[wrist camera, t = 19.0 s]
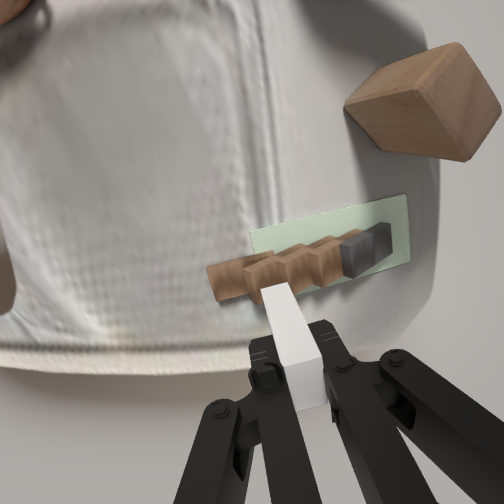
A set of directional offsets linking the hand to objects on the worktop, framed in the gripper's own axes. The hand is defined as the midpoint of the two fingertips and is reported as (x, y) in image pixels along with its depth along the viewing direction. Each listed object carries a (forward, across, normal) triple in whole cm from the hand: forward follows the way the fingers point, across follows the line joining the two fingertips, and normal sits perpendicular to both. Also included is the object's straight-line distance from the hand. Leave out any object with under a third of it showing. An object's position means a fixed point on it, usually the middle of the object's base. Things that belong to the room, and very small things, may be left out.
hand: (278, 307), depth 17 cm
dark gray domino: (+28, +21, -10) cm, 36 cm away
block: (+30, +24, +10) cm, 39 cm away
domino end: (+28, +3, -10) cm, 30 cm away
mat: (+29, +13, -10) cm, 34 cm away
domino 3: (+28, +16, -10) cm, 34 cm away
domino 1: (+28, +7, -10) cm, 31 cm away
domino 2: (+28, +12, -10) cm, 32 cm away
